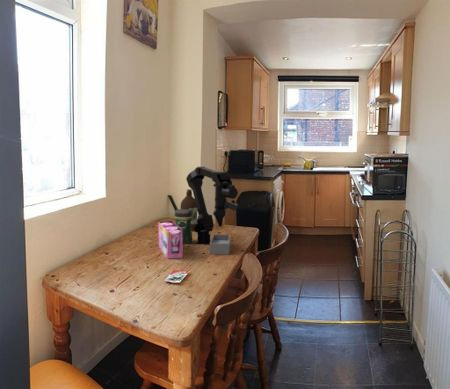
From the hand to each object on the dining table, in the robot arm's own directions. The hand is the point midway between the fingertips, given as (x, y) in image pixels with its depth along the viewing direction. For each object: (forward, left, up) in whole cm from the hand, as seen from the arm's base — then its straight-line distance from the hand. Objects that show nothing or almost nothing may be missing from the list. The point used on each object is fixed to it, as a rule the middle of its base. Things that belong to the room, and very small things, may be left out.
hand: (220, 225), depth 220 cm
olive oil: (-22, +40, -13) cm, 47 cm away
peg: (0, 0, -2) cm, 3 cm away
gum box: (-25, -7, -13) cm, 29 cm away
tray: (0, 0, -13) cm, 13 cm away
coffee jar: (-21, +11, -13) cm, 27 cm away
